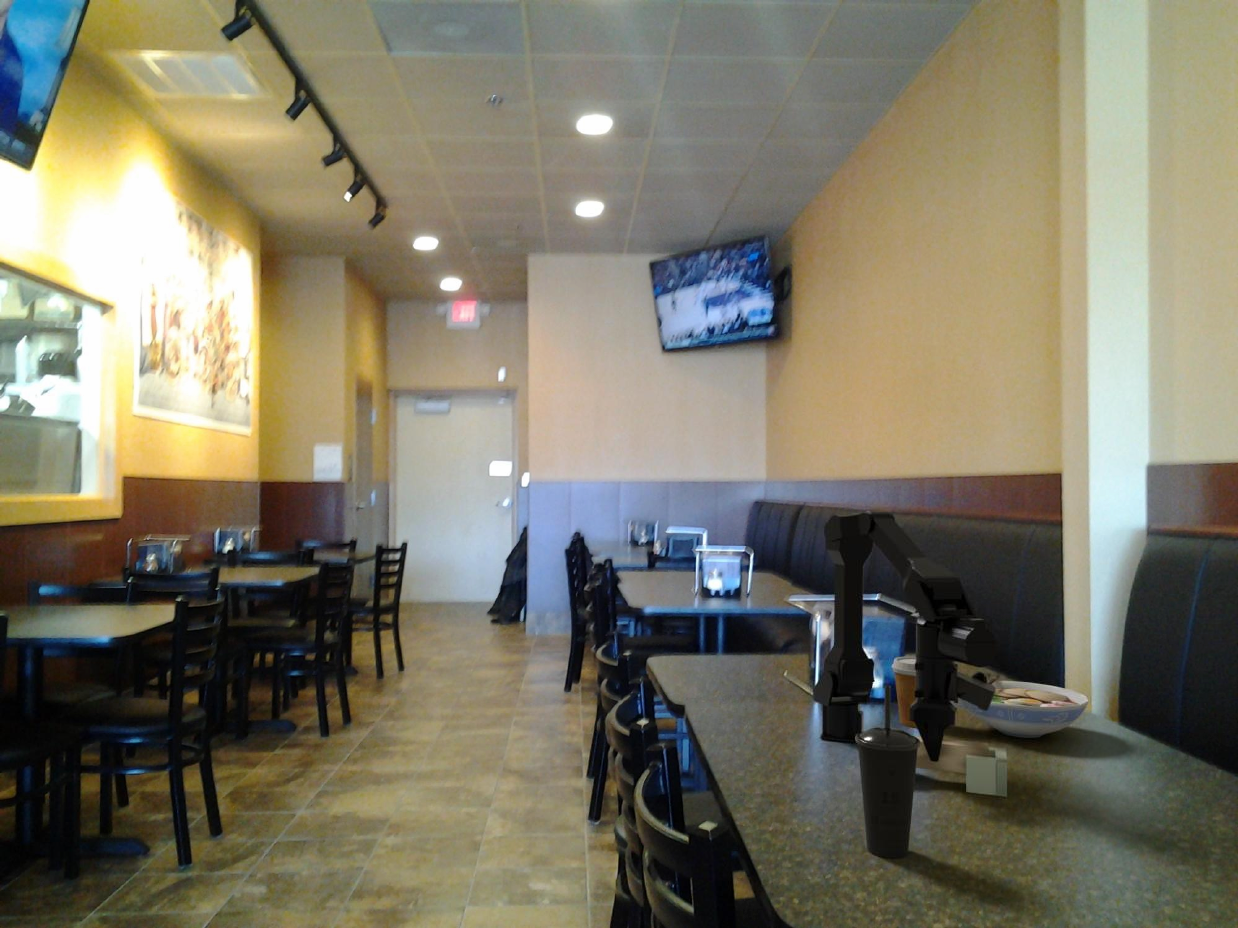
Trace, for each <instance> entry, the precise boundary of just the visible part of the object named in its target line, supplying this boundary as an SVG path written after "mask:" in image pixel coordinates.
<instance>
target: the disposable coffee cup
mask: <svg viewBox="0 0 1238 928" xmlns="http://www.w3.org/2000/svg"><path fill="white" fill-rule="evenodd" d="M915 662H916V656H900V657H899V656H898V657H895V658H894V659H893V663H892V664H891V668H892V670H893V672H894V680H895V689H896V696H897V697H896V698H897V704H898V714H899V721H900V724H901V725H903V726H905V727H910V728H915V729H917V727H916V724H915V722H912V721H910V706H911V704H912V703H913V702H914V701H915V700H916V699H917V697H915V689H916V670H915Z"/></svg>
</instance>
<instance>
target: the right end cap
mask: <svg viewBox="0 0 1238 928" xmlns="http://www.w3.org/2000/svg"><path fill="white" fill-rule="evenodd" d="M988 747H989V757H982V756H973V755H967V756H966V773H965V774H966V775H965V776H966V778H965V779H966V781H965V784H966V789H965V790H966V791H965V792H966V793H972V794H980V795H981V794H982V795H988V796H989V795H991V796H996V797H997V796H998V797H1004V798H1006V797H1008V790H1007V789H1008V787H1007V786H1008V776H1007V775H1008V771H1007V770H1008V760H1007V759H1008V758H1007V748H1000V747H993V746H992V747H991V746H988Z"/></svg>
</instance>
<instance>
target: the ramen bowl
mask: <svg viewBox="0 0 1238 928" xmlns="http://www.w3.org/2000/svg"><path fill="white" fill-rule="evenodd" d="M985 674H986V675H987V683H988V684H992V685H993V686H994V687H995V694H994V697H993V699H992V702H991V704H990V706H989V709H988V711H985V710H982V709H980V708H978V706H976V705H974V704H971V703H969V702H967V701H964V700H962V699H960V698H959V700H960V702H961V703H962V704H963V706H964V708H965V709H966V710H967V712H968V713H969V714H970V715H971V716H973V717H974V718H975V719H976V720H978V721H980V722H981V723H983V724H985V725H986V726H988V727H991V728H993V729H996V730H997V731H998V732H1000V733H1002V734H1003V735H1006V736H1011V737H1017V738H1024V739H1025V738H1027V739H1028V738H1029V739H1031V738H1032V739H1033V738H1040V737H1042V736H1044V735H1047V734H1051V733H1054V732H1058V731H1061V730H1064V729H1065V728H1067V727H1068V726H1070V725H1072V724H1074V723H1075V722H1076V721H1077V720H1078V719H1079V718H1080V717H1081V715H1082V714H1083V712H1084V711H1085V710H1086V708H1087V707H1088V704H1089V703H1090V699H1089V698H1088V696H1087V695H1086V694H1083V693H1080V692H1077V691H1076V690H1073V689H1070V688H1069V689H1068V688H1065V687H1064V688H1063V687H1060V686H1054V685H1049V684H1044V683H1043V684H1041V683H1035V682H1027V681H1025V682H1024V681H1015V680H1014V681H1013V680H1011V681H1010V680H999V679H1000V678H1001V674H1000V673H996V674H995V675H994V676H993V677H992V673H991V672H987V673H985ZM990 677H992V678H991V679H990V680H989V678H990Z"/></svg>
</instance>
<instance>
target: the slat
mask: <svg viewBox="0 0 1238 928" xmlns="http://www.w3.org/2000/svg"><path fill="white" fill-rule="evenodd" d="M913 736H914V735H913ZM914 737H916V738H918V739H919V740H920V747H919V748H918V750H917V761H916V769H921V770H922V769H923V770H931V771H932V770H933V771H939V772H940V771H943V772H951V773H961V774H962V773H963V774H966V756H967V755H973V756H982V757H989V747H990V746H989V744H988V742H979V741H967V740H956V739H948V738H947V739H945V738H943V741H942V746H941V751H940V756H939V760H938V762H933V761H931V760H930V758H929V755H928V753H927V750H926V748H925V746H924V743H923V741H922V738H921V736H914Z"/></svg>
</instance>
